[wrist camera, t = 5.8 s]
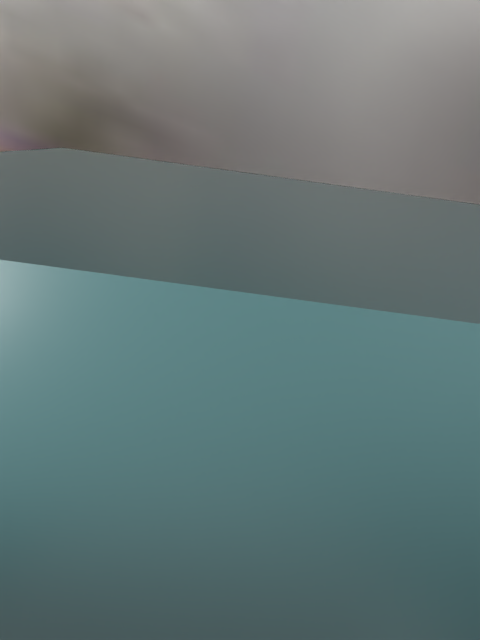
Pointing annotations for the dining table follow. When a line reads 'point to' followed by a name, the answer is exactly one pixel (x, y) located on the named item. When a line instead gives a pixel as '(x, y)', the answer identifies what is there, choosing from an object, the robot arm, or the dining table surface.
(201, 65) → the dining table surface
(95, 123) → the dining table surface
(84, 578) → the teal cube
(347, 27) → the dining table surface
